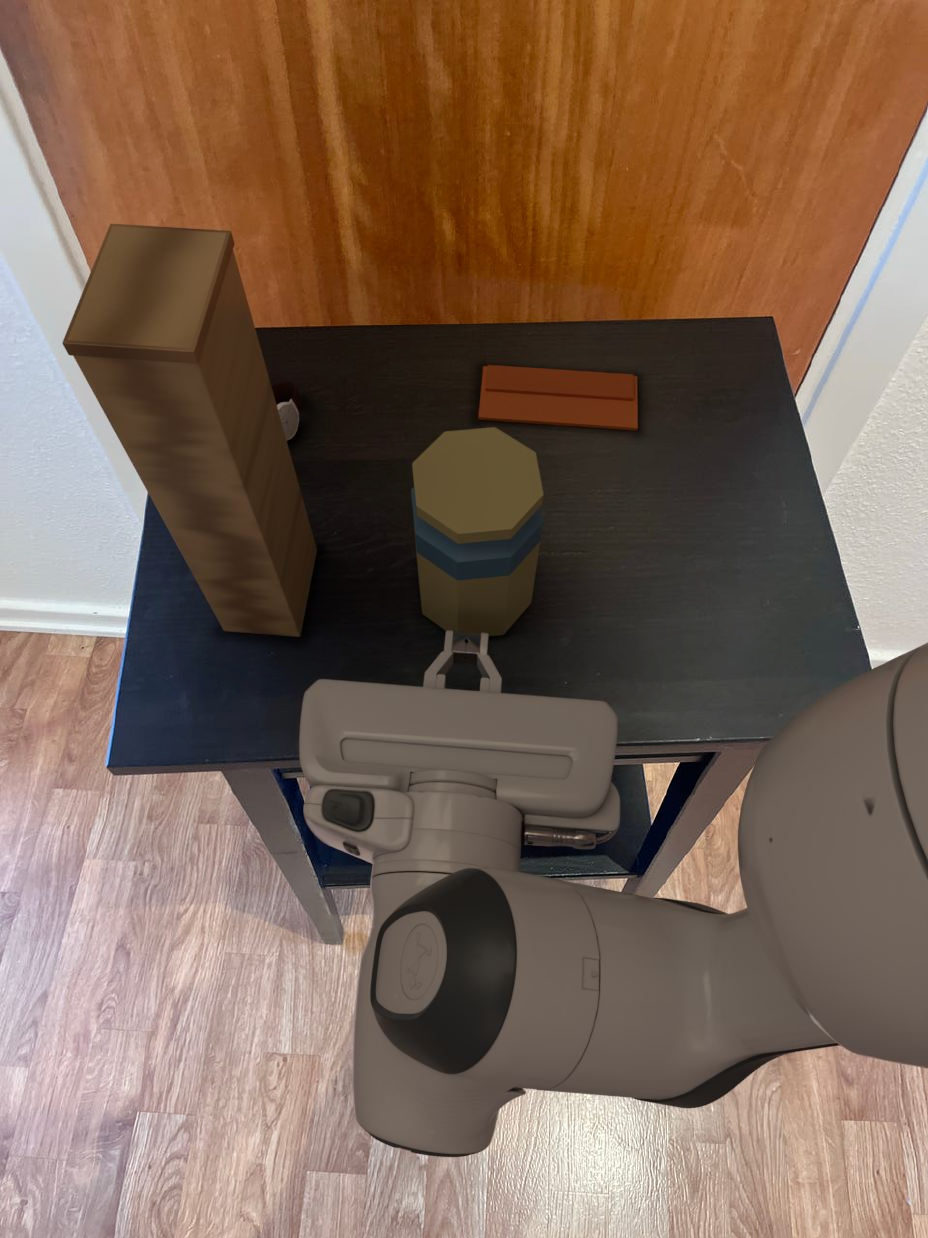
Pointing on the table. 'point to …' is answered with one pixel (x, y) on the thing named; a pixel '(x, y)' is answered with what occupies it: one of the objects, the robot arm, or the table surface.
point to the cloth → (559, 397)
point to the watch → (288, 406)
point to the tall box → (198, 417)
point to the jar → (476, 529)
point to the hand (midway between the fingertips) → (467, 634)
